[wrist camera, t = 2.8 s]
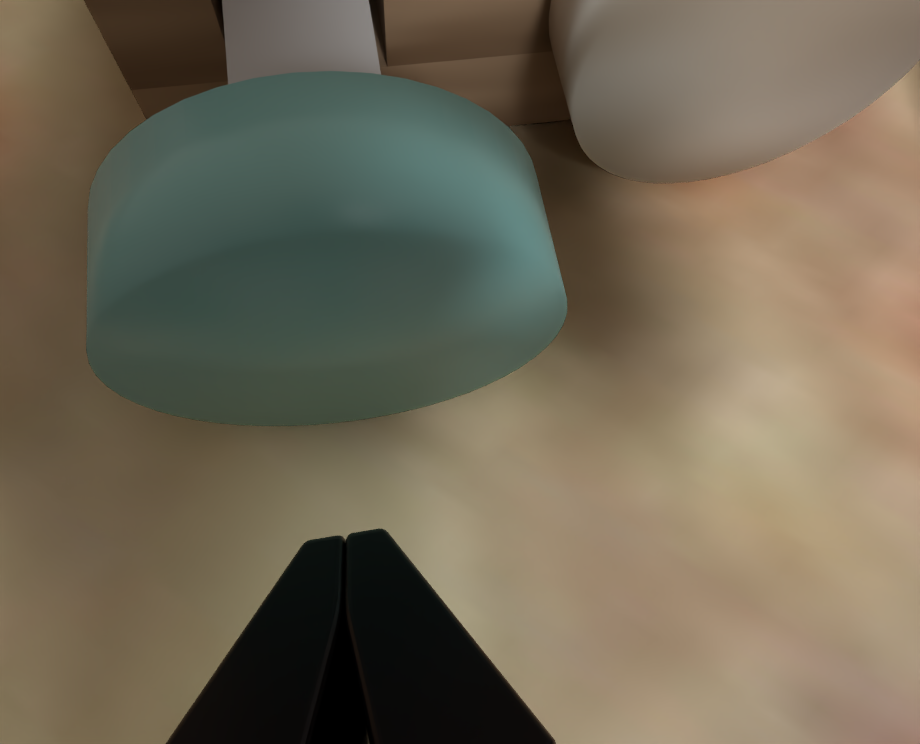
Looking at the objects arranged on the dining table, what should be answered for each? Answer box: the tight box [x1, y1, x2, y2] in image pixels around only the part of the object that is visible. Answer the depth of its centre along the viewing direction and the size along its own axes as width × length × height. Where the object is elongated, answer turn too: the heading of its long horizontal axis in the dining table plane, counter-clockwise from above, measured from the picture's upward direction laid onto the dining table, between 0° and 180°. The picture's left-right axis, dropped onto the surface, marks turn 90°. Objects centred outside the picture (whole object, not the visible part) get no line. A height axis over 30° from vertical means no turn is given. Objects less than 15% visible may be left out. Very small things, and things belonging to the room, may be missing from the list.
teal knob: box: [86, 0, 567, 426], centre depth 14 cm, size 13×8×8 cm, turn 10°
